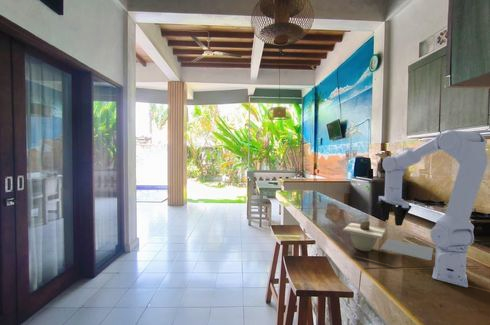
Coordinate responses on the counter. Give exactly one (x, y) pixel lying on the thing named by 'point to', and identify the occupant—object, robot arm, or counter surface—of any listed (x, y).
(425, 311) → the counter surface
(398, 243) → the mat
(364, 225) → the lid
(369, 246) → the beige bowl
